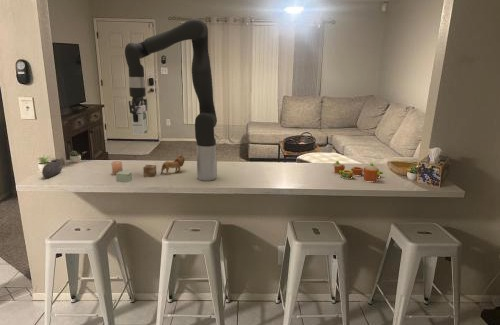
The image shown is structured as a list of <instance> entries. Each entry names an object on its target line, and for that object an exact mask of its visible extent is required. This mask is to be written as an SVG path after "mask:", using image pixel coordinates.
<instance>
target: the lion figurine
mask: <svg viewBox="0 0 500 325" xmlns="http://www.w3.org/2000/svg"><path fill="white" fill-rule="evenodd" d="M185 160H186V158H185V155H183V154H179V155H177V157H176V159H175V160H173V161H169V160H168V161H164V162H162V165H161V168H160V170H161V171H160V173H159V175H164V173H165V172H166V173H167V175H168V176H169V175H171V172H169V170H170V169H175V173H178V174H182V171H181V167H183V166H184V164H185ZM165 170H166V171H165ZM164 171H165V172H164Z"/></svg>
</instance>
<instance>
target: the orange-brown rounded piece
mask: <svg viewBox="0 0 500 325" xmlns="http://www.w3.org/2000/svg"><path fill="white" fill-rule="evenodd" d="M120 171H123V172H124V170H123V162H122V161H118V160H117V161H112V162H111V172H112V174H111V175H113V176H116V173H118V172H120Z"/></svg>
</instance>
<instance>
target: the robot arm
mask: <svg viewBox="0 0 500 325" xmlns="http://www.w3.org/2000/svg"><path fill="white" fill-rule="evenodd" d="M188 40H191V45H192V60H191V79H192V80H191V81H192V85H193V89H194V92H195V94H196V97H197V100H198V106H199V107H198V108H199V113H198V115H196V117H195V119H194V133H195V134H194V135H195V142H196V171H197V172H196V176H197V177H196V178H197V180H199V181H205V182H206V181H215V180H216V179H217V177H218V159H217V158H216V157H217V156H216V155H217V154H216V147H217V146H216V145H217V144H216V143H217V142H216V138H215V128H216V126H217V122H218V120H217V119H218V118H217V113H216V107H215V102H214V88H213V76H212V68H211V67H212V66H211V60H210V53H209V28H208V25H207V24H206V23H205V22H204V21H203V20H202V19H200V18H196V17H191V18H189V19H188V20H186V21H185V22H182V23H181V24H179V25H177V26H175V27H173V28H172V29H170V30H167V31H164V32H161V33H158V34H156V35H153V36H149V37H147V38H145V39H144V41H141V42H138V43H135V42H129V43H127V44H126V46H124V56H125V60H126V64H127V67H128V89H129V96H130V97H132V100H128V108H129V113H130V114H131V113H132V114H133V121H134V122H138V110H139V106H140V105H145V106H146V112H147V111H148V99H147V98H144V97H146V95H147V93H146V92H147V91H146V80H145V69H144V66H143V65H142V63H141V59H144V58H147V57H148V56H150V55H152V54H155V53H158V52H160V51H163V50H166V49H168V48H170V47H171V46H173V45H175V44H177V43H180V42H184V41H188ZM135 106H138V107H137V108H135ZM132 109H133V110H132Z"/></svg>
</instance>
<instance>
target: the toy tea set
mask: <svg viewBox="0 0 500 325" xmlns="http://www.w3.org/2000/svg"><path fill="white" fill-rule="evenodd" d="M332 166H333V167H334V169H333V170H334V173H335V172H336V173H342V174H340V178H341V177H342V179H343V178H345V179H344V180H353V179H355V178H356V176H354V175H361V176H362V174H363V181H364V180H366V181H376V182H377V180H378V179H379V178H378V177H379V176H380V178H381V177H382V176H381V175H383V173H384V172H383V171H382V170H381V171H380V169H379V168H378V167H377V166H375V165H374V163H373V162H371V163H370V164H368V165H366V166H364V167H360V166H353V167H352V168H350V170H349V169H345V168H346V165H345V164H341V163H340V162H339V160H336V161H335V162H334V163H332ZM336 173H335V174H336ZM351 177H352V178H353V179H352V178H351ZM366 181H365V182H366Z"/></svg>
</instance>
